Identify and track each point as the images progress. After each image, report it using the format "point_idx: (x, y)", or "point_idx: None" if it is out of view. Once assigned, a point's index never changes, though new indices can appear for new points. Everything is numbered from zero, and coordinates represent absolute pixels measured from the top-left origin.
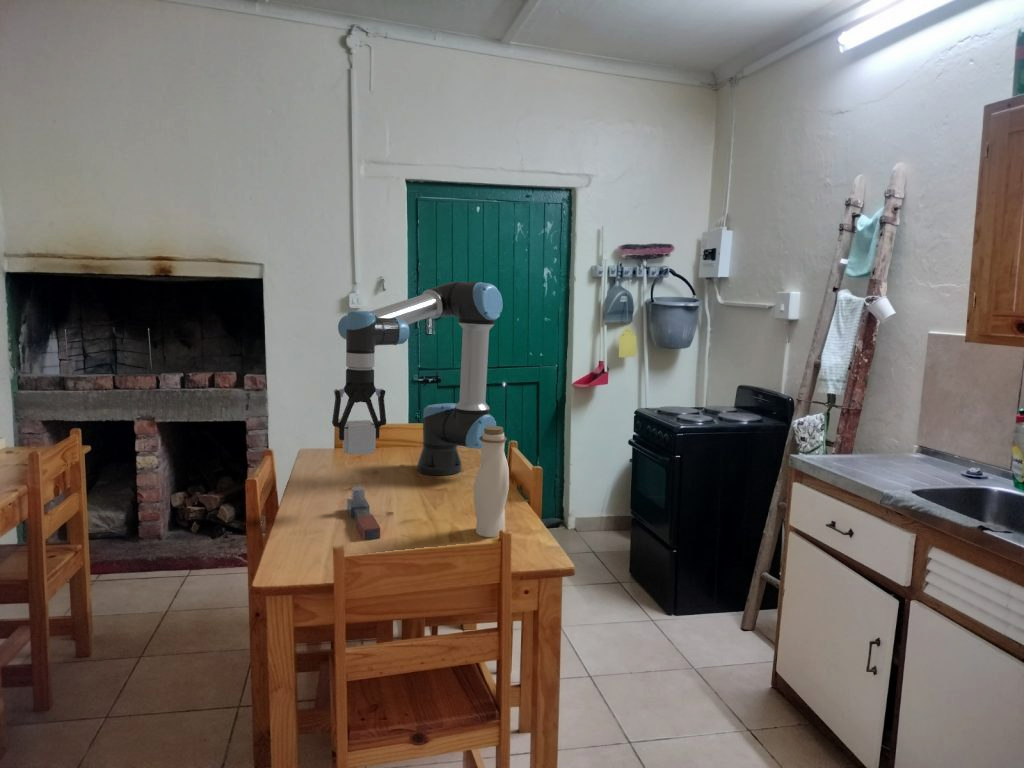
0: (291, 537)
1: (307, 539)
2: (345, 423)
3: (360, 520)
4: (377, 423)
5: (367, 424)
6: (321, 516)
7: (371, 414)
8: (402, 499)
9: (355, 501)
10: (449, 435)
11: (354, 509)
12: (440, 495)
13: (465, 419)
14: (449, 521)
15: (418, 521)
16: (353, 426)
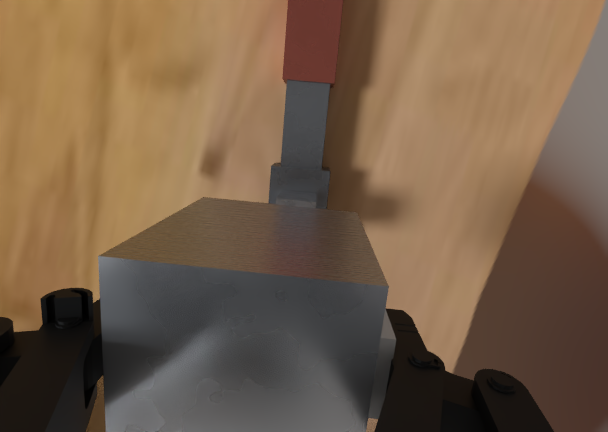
0: (530, 69)
1: (494, 34)
2: (394, 379)
3: (334, 36)
4: (56, 334)
5: (168, 306)
6: (403, 212)
7: (47, 418)
8: None
9: (309, 194)
10: None
11: (321, 161)
12: (30, 261)
13: None
14: (55, 22)
15: (147, 60)
16: (332, 277)
